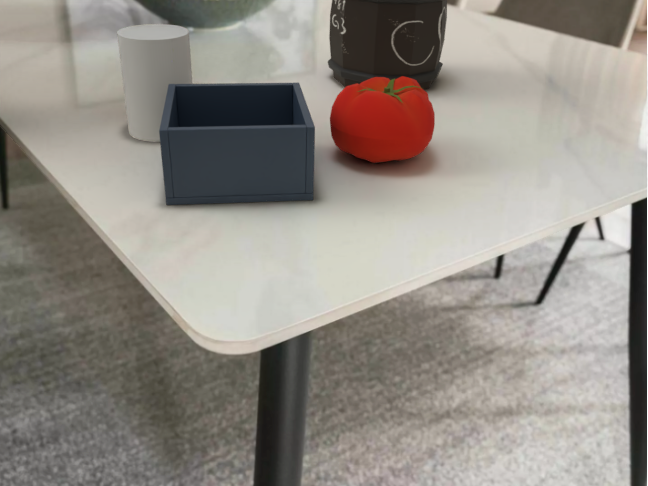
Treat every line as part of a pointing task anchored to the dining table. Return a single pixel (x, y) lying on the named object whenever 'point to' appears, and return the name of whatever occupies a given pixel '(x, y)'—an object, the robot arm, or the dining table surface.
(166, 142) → the tote
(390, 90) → the tomato
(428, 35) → the dark plant pot
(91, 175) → the dining table surface
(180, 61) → the cup
